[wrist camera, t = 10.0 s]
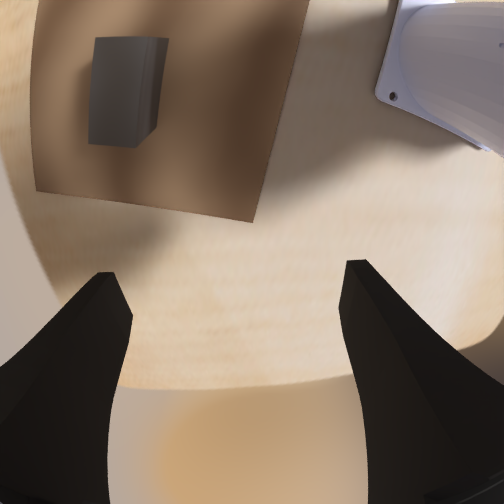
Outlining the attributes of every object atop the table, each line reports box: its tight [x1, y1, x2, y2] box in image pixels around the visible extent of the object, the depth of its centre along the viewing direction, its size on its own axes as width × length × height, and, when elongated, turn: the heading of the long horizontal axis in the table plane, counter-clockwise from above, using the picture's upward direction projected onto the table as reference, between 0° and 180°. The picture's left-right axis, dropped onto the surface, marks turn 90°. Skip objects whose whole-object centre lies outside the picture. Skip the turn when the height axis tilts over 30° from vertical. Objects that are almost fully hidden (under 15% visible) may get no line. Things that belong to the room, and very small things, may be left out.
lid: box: [30, 0, 310, 223], centre depth 12 cm, size 15×15×4 cm
